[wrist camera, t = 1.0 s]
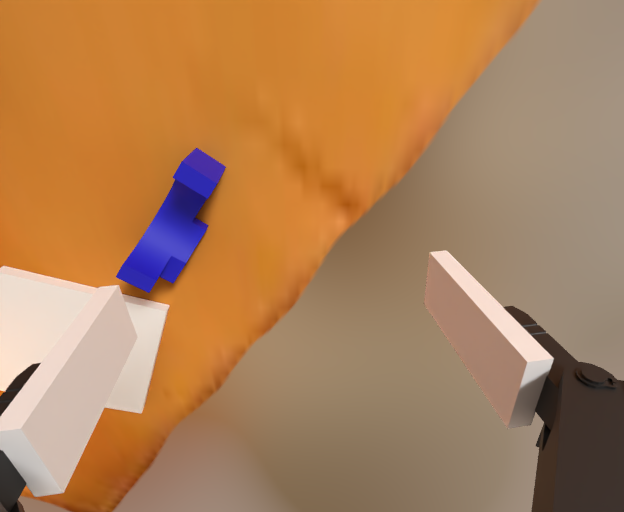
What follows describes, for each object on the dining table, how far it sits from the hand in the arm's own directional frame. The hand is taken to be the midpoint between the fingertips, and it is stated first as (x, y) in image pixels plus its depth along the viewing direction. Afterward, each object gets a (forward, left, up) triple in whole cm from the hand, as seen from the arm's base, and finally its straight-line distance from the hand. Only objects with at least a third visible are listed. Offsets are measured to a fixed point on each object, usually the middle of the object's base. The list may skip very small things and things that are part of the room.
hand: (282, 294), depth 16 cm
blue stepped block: (-7, -6, -21) cm, 23 cm away
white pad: (-15, -26, -21) cm, 36 cm away
